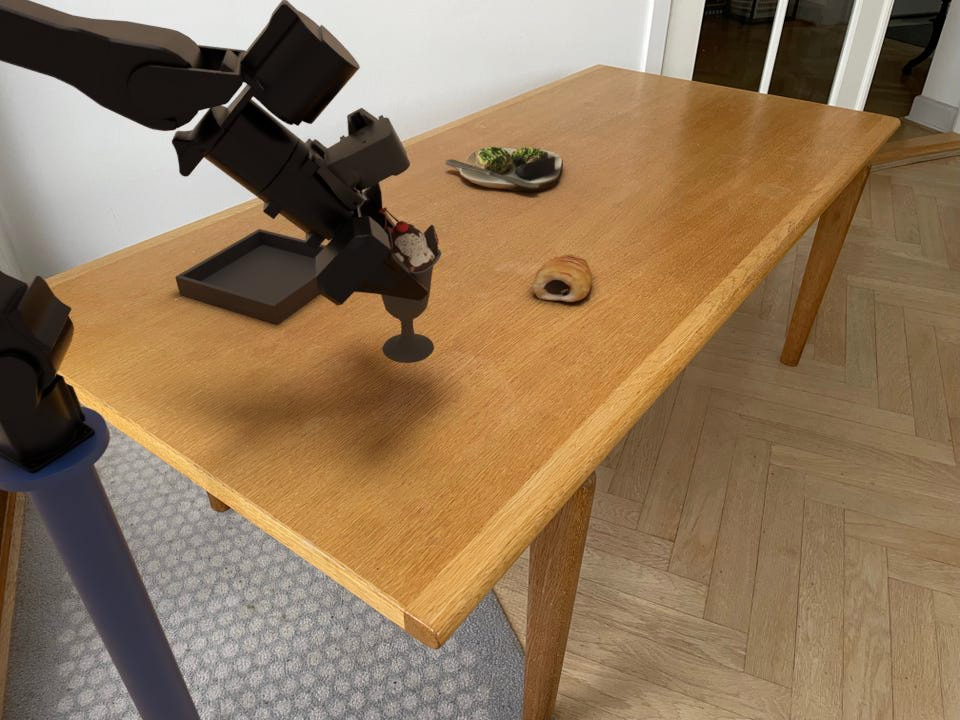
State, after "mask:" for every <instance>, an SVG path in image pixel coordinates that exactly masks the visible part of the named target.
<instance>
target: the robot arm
mask: <svg viewBox="0 0 960 720" xmlns="http://www.w3.org/2000/svg"><path fill="white" fill-rule="evenodd" d="M0 62H3V63H6V64H9V65H12V66H15V67H19V68H22V69H25V70H28V71H31V72H35V73H38V74H42V75H44V76H48V77H51V78H54V79H56V80H59V81H61V82H62V83H65V84H67V85H68V86H71V87H73V88H75V89H76V90H78V91H79V92H80V93H81V94H83V95H85V96H86V97H88V99H90V100H92V101H93V102H94V103H95V104H97V105H99V106H100V107H102V108H104V109H107V110H109V111H111V112H113V113H115V114H117V115H119V116H121V117H123V118H126V119H127V120H130V121H132V122H134V123H137V124H138V125H141V126H143V127H145V128H148V129H150V130H153V131H160V132H170V131H175V130H176V131H175V133H174V134H173V137H172V139H171V144H172V146H173V148H174V150H175V152H176V156H177V162H178V172H179V175H180V176H182V177H186V178H187V177H189V176H190V175H191V174H192V173H193V171H194V170H195V169H196V168H197V166H199V164H200V163H201V162H202V161H203V159H205V160H207V162H209V163H210V164H212V165H213V166H215V167H216V168H217V169H219V170H220V171H221V172H223V173H224V174H225V175H226V176H228V177H230V178H231V179H232V180H234V181H235V182H236V183H238V184H239V185H240V186H242V187H243V188H245V189H246V190H247V191H249V192H250V193H251V194H252V195H254V196H255V197H257V198H258V199H259V200H260V201H262V202H263V208H262V212H263V213H264V214H265V215H267V216H268V217H270V218H271V219H272V220H275V219H276V218H277V216H278V215H280V216H282V217H283V218H284V219H286V220H288V222H291V224H293V225H294V226H296V227H297V228H298V229H300V230H301V231H302V232H303V233H305V240H306V243H307V244H308V245H309V246H311V247H312V248H313V249H315V250H316V249H317V248H318V247H319V246H320V244H323V242H324V241H325V240H327V241H328V243H326V246H325V247H324V248H323V249H322V251H321V252H320V253H319V254H318V255H317V256H316V281H317V288H318V293H320V294H319V295H321V296H322V297H324V298H325V299H327V300H328V301H329V302H331V303H333V305H335V306H341V305H343V304H344V303H346V301H347V300H348V299H349V298H350V297H351V296H352V295H353V294H354V293H363V294H372V295H373V294H374V295H387V296H393V297H399V298H405V299H411V300H417V301H421V300H423V299H424V298H425V297H426V296H427V295H428V290H427V289H426V288H425V287H424V286H423V284H422V283H421V282H420V281H419V280H418V279H417V278H416V277H415V276H414V274H413V273H412V272H411V271H410V270H409V269H408V268H407V267H406V266H405V265H404V264H403V263H402V262H401V261H400V259H399V258H398V257H397V256H396V255H395V254H394V253H393V252H392V247H393V242H392V237H391V233H390V229H389V228H391V229H392V228H393V227H394V226H396V223H395V222H394V221H393V220H392V218H391V217H390V215H389V214H388V213H387V212H386V211H385V212H384V213H385V215H386V217H387V227H386V229H385V230H383V229H384V226H385V216H384V214H382V213H380V212H379V209H383V208H384V207H383V194H382V188H381V184H380V183H381V182H382V181H384V180H386V179H388V178H390V177H392V176H395V177H397V176H399V175H401V174H403V173H404V172H406V171H407V170H408V169H409V168H410V165H411V161H410V159H409V157H408V154H407V150H406V148H405V146H404V144H403V142H402V141H401V139H400V137H399V136H398V135H399V134H398V133H397V132H396V130H395V128H394V125H393V124H392V122H391V121H390V118H389V117H385V116H384V115H383V114H381V115H378V118H377V117H376V116H375V115H373V114H371V113H370V112H369V111H367V110H366V109H364V108H363V107H360V108H358V109H356V110H354V111H352V112H351V113H348V114H347V116H346V120H347V121H346V123H347V135H346V136H345V135H344V134H343V135H341V136H340V137H339V141H337V142H335V143H334V144H333V145H331V146H329V147H327V146H325V145H324V144H323V143H321V142H320V141H319V140H318V139H316V138H314V139H311V138H307V140H305V141H303V140H302V139H301V138H300V137H298V136H297V135H296V134H295V133H294V132H292V131H291V130H290V129H289V128H287V126H285V125H284V124H282V122H283V123H285V124H287V125H289V126H292V125H295V126H297V127H299V126H300V125H301V124H302V123H305V124H308V125H312V124H313V123H314V122H316V120H317V119H318V117H319V116H320V115H321V114H322V113H323V112H324V111H325V109H326V108H327V107H329V105H330V104H331V102H332V101H333V100H334V99H335V98H336V97H337V95H338V94H339V93H340V92H341V91H342V90H343V88H344V87H345V86H346V85H347V84H348V83H349V81H350V80H351V79H352V78H353V77H354V76H355V74H356V73H357V72H358V71H359V70H360V69H361V66H360V64H359V62H358V61H357V60H356V58H355V57H354V56H353V55H352V53H351V52H350V51H349V50H348V49H347V48H346V47H345V46H344V45H343V44H342V43H341V41H339V39H338V38H337V37H335V35H334V34H332V33H331V31H329V29H327V27H325V26H324V25H323V24H320V25H319V24H318V23H317V22H315V21H314V20H313V19H312V18H310V17H309V16H308V15H306V14H305V13H303V12H302V11H300V10H299V9H297V8H296V7H295V6H294V5H293V4H292V3H290V1H288V0H281V1H280V2H279V3H278V5H277V6H276V7H275V8H274V10H273V12H272V13H271V15H270V18H269V20H268V22H267V24H266V25H265V26H264V27H263V29H262V30H261V32H260V33H259V34H258V35H257V37H255V39H254V40H253V42H252V43H251V44H250V45H249V46H248V48H247V49H246V50H245V49H239V48H238V49H236V48H229V47H221V46H212V45H211V46H210V45H202V44H197V42H196V41H195V40H193V39H192V38H191V37H190V36H189V35H186V34H184V33H183V32H180V31H179V30H177V29H172V28H167V27H163V26H157V25H151V24H147V23H141V22H140V23H139V22H134V21H128V20H118V19H117V20H116V19H103V18H93V17H92V18H91V17H86V16H80V15H75V14H70V13H67V12H64V11H62V10H58V9H55V8H53V7H50V6H47V5H45V4H41V3H38V2H36V1H32V0H0ZM244 83H245V84H246V85H245V86H244V87H243V89H242V90H241V91H240V92H239V93H238V95H237V96H236V97H235V98H234V99H233V101H232V102H231V103H230V104H229V105H228V106H225V105H227V104H228V103H229V102H230V101H231V100H232V98H233V97H234V96H235V95H236V94H237V92H238V91H239V90H240V88H242V86H243V84H244ZM253 98H254V99H256V100H257V101H258V102H259V103H260V104H261V105H262V106H263V107H264V108H265V109H264V108H263V107H262V106H261V105H259V104H258V103H257V102H256V101H255V100H253ZM266 109H267V110H266ZM203 110H207V111H206V112H205V113H204V115H202V117H201V119H200V120H199V121H198V122H197V124H196V125H194V127H193V129H190V130H177V129H179V128H181V127H183V126H185V125H187V124H189V123H190V122H192V120H193V119H194V118H196V116H197V115H198V113H199V111H203ZM269 112H270V113H269ZM274 116H275V117H276V118H277V119H276V118H275V117H274ZM279 120H280V121H281V122H280V121H279ZM71 312H72V307H71V306H69V305H68V304H67V303H64V302H63V301H62V300H60V299H59V298H58V297H57V296H56V295H55V294H54V292H53V291H52V289H51V288H50V285H49V284H48V281H46V280H45V279H44V278H43V277H42V276H40V275H35V276H34V277H33V278H31V279H29V280H28V281H27V282H25V281H23V280H20V279H17V278H16V277H14V276H11V275H9V274H6V273H5V272H3V271H1V270H0V456H1V457H2V458H4V459H6V460H8V461H9V462H11V463H13V464H15V465H16V466H18V467H20V468H22V469H23V470H25V471H27V472H29V473H31V474H33V473H37V472H39V471H40V470H42V469H43V468H45V467H46V466H48V465H49V464H51V463H52V462H54V461H55V460H57V459H58V458H60V457H62V456H63V455H65V454H66V453H68V452H69V451H71V450H72V449H74V448H75V447H77V446H78V445H80V444H81V443H83V442H84V441H86V440H87V439H89V438H90V437H92V436H93V435H95V430H94V428H92V427H90V426H88V425H86V424H84V423H82V422H84V421H85V419H86V417H85V415H84V412H83V410H82V407H83V406H82V405H81V403H80V400H79V397H78V394H77V393H76V390H75V387H74V386H73V385H71V384H70V383H68V382H66V380H65V378H64V376H63V375H61V374H59V373H58V372H59V370H60V368H61V365H62V363H63V361H64V359H65V357H66V355H67V352H68V350H69V348H70V346H71V344H72V342H73V337H74V333H75V332H74V331H75V327H74V323H73V320H72V318H71V317H70V313H71Z"/></svg>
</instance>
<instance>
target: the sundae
mask: <svg viewBox="0 0 960 720" xmlns="http://www.w3.org/2000/svg"><path fill="white" fill-rule="evenodd" d="M382 208H383V209H379V212H380V213H382V214H384V216H385V226H384V229H383V230H385V229H386V227H387V217H386V215H385V213H384V212H386V213H387V214H388V216H389V217H390V218H391V219H393V220H394V221H396V223H395V226H394V227H393V228H392V229H391V228H389V229H390V233H391V237H392V242H393V247H392V252H393V253H394V254H395V255H396V256H397V257H398V258H399V259H400V261H401V262H402V263H403V264H404V265H405V266H406V267H407V268H408V269H409V270H410V271H411V272H412V273H413V274H414V276H415V277H416V278H417V279H418V280H419V281H420V282H421V283H422V284H423V286H424V287H425V288H426V289H427V290H428V295H427V296H426V297H425V298H424V299H423V300H421V301H417V300H411V299H405V298H399V297H393V296H387V295H381V300H382V302H383V306H384V309H385V311H386V312H387V313H388V314H390V316H392V317H393V318H395V319H397V320H399V321H400V329H401V330H400V333H399V334H395V335H393V336H391V337H390V338H389V337H388V338H387V340H386V341H385V342H384V343H383V345H382V349H381V350H382V354H383V355H384V356H385V357H386V358H387V359H388V360H391V361H393V362H396V363H400V364H413V363H414V364H415V363H418V362H421V361H423V360H426V359H428V358H429V357H430V356H431V355H432V354H433V352H434V350H435V345H434V343H433V341H432V340H431V339H430V338H429V337H428V336H425V335H423V334H420V333H415V329H414V320H415V319H417V318H419V317H420V316H421V315H422V314H423V313H424V312H425V311H426V309H427V308H428V303H429V299H430V295H431V287H432V277H433V270H434V266H435V265H436V264H437V263H438V262H439V260H440V258H441V256H442V251H441V250H440V249H439V243H440V241H439V236H438V234H437V231H436V229H435V226H434V225H433V224H430V225H429V226H428V227H427V228H426V229H425V231H422V230H421V229H420V228H419V227H417V226H415V225H414V224H411V223H408V222H407V221H404V220H398V218H396V217H395V216H394V215H393V214H392V213H390V211H389V210H388V208H387V206H385V207H382Z"/></svg>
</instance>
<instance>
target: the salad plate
mask: <svg viewBox="0 0 960 720" xmlns="http://www.w3.org/2000/svg"><path fill="white" fill-rule="evenodd" d="M444 164H445V165H446V166H448V167H450V168H453V169H455V170H456V171H458V172H459V175H460V176H461V177H462V178H464V179H465V180H467V181H469V182H470V183H473V184H475V185H478V186H481V187H482V188H483V187H484V188H488V189H497V190H505V191H512V192H524V193H525V192H527V193H533V192H541V191H545V190H548V189H551V188H552V187H553V186H554V185H555V184H556V183H557V182H558V180H559V178H560V175H561V172H562V170H563V167H564V160H563V158H562V157H561V155H559V154H557V152H553V151H550V150H547V149H546V150H545V149H541V148H536V147H531V146H529V148H528V147H526V146H524V147H521V148H509V147H501V146H500V147H499V146H489V145H488V146H486V147H482V148H479V149H476V150H473V151H472V152H471V153H469V155H468V156H467V158H466V159H465V161H464V162H462V161H459V160H456V159H452V158H449V159H446V160H445V163H444Z"/></svg>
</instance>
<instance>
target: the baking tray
mask: <svg viewBox="0 0 960 720" xmlns="http://www.w3.org/2000/svg"><path fill="white" fill-rule="evenodd" d="M326 245H327V244H326ZM326 245H325V244H323V243H321V244H320V246H319V247H318V248H317V249H316V250H315V249H313V248H312V247H311V246H309V245H308V244H307V243H306V239H301V238H297V237H294V236H289V235H285V234H281V233H277V232H275V231H274V232H273V231H269V230H265V229H260V228H258V229H257V230H255V231H252V232H251V233H249V234H247V235H246V236H244V237H242V238H240V239H239V240H237V241H235V242H234V243H231V244H230V245H228V246H226V247H224V248H223V249H221V250H220V251H218V252H216V253H214V254H212V255H210V256H209V257H207V258H206V259H204V260H202V261H201V262H199V263H196V264H195V265H193V266H192V267H189V268H188V269H186V270H185V271H182V272H181V273H179V274H177V275H176V276H175V282H176V286H177V289H178V293H179V295H180V296H182V297H183V296H184V297H187V298H190V299H193V300H196V301H200V302H203V303H205V304H210V305H213V306H215V307H219V308H222V309H226V310H230V311H232V312H236V313H239V314H242V315H246V316H248V317H251V318H254V319H258V320H262V321H264V322H268V323H271V324H274V325H279V324H280V323H282V322H283V321H284V320H285V319H287V318H288V317H290V316H291V315H292V314H293V313H295V312H297V311H298V310H299V309H301V308H302V307H303V306H305V305H306V304H307V303H309V302H310V301H311V300H313V299H314V298H316V297H317V296H318V295H321V294H320V293H318V288H317V281H316V256H317V255H318V254H319V253H320V252H321V251H322V249H323V248H324V247H325V246H326Z"/></svg>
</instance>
